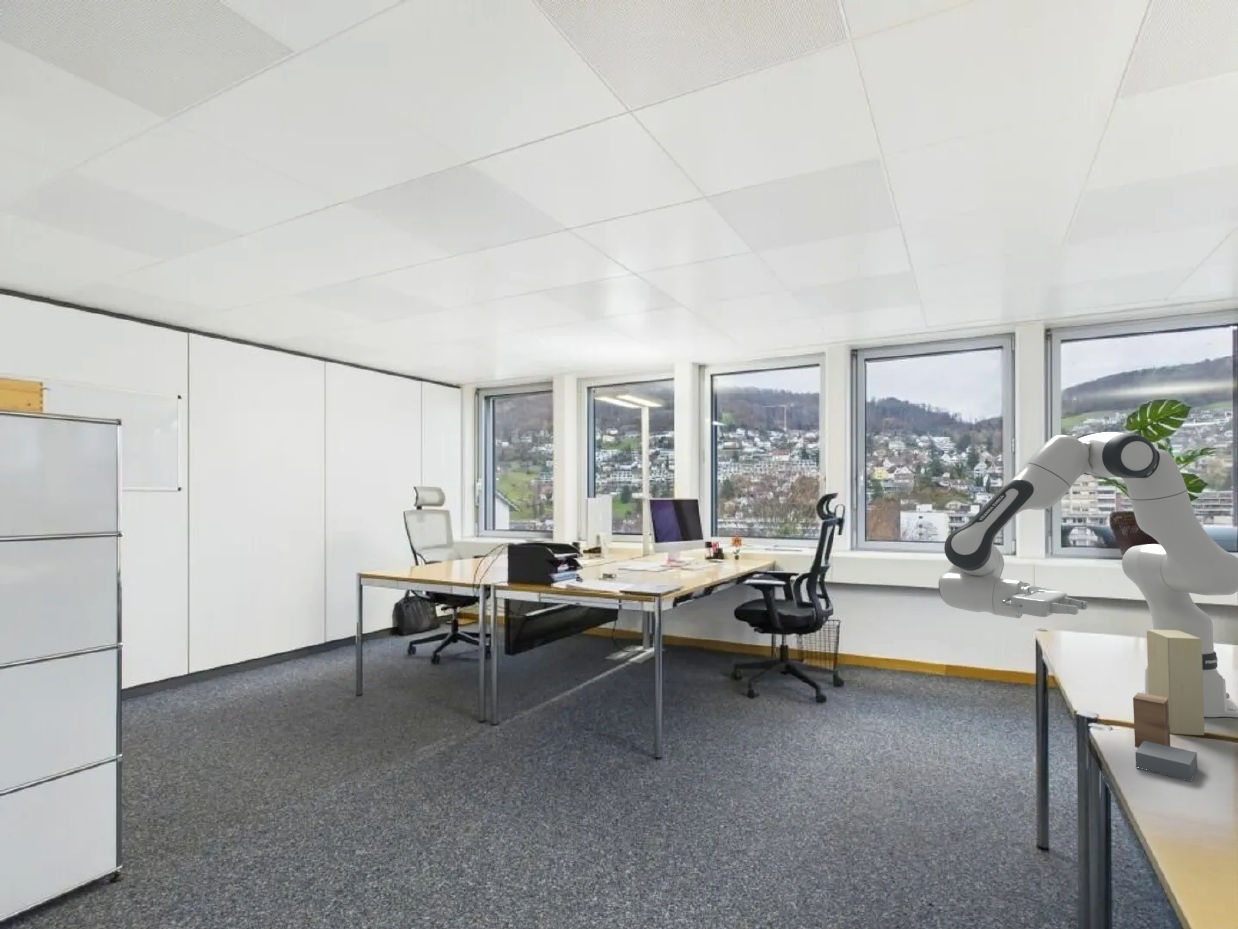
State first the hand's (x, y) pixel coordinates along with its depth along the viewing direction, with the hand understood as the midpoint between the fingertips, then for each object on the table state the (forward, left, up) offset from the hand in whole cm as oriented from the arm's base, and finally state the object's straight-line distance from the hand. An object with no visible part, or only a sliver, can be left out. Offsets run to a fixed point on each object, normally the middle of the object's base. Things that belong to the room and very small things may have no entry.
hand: (1082, 608), depth 144 cm
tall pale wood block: (-16, +13, -27) cm, 34 cm away
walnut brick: (0, +11, -27) cm, 29 cm away
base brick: (+11, +15, -27) cm, 33 cm away
